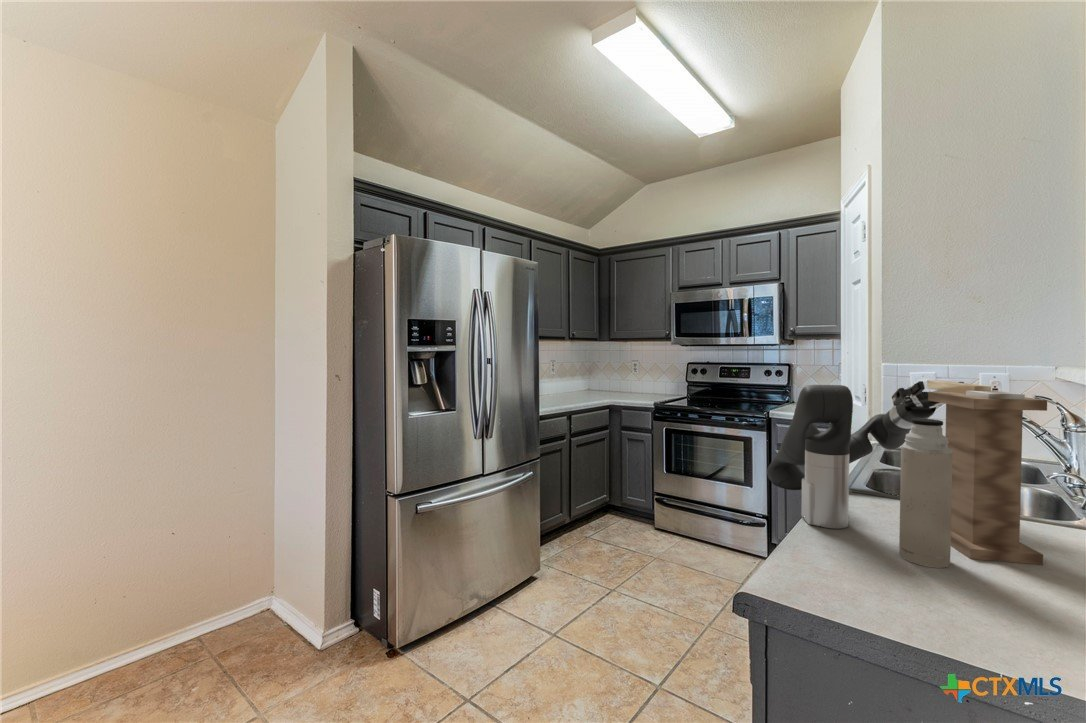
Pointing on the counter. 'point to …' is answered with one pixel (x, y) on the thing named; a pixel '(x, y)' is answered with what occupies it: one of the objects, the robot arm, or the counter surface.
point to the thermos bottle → (926, 495)
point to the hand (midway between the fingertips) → (942, 384)
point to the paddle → (972, 390)
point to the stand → (987, 475)
